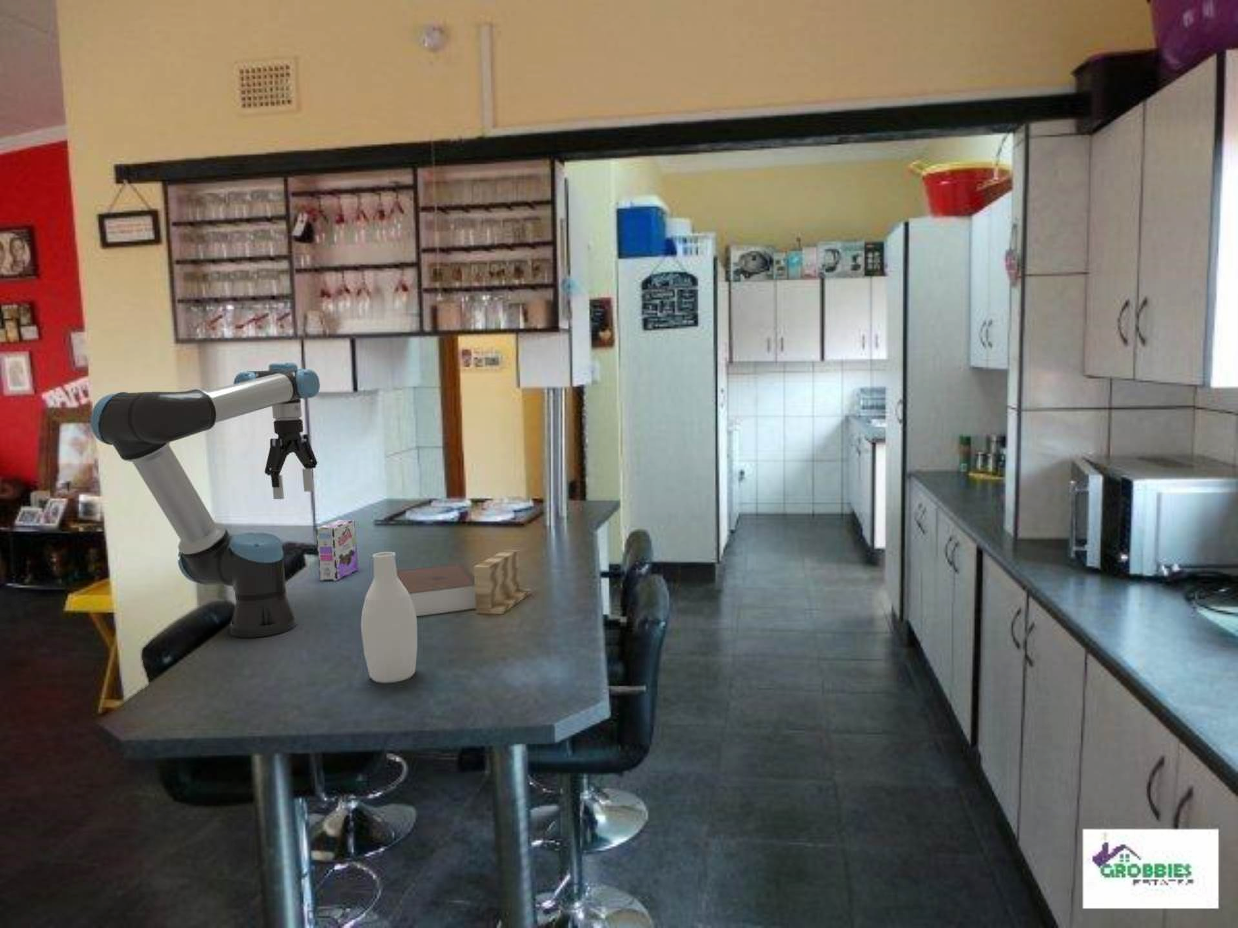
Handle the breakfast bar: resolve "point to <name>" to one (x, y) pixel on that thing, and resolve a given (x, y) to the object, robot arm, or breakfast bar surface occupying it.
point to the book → (439, 588)
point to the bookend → (498, 583)
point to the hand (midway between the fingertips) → (294, 495)
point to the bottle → (388, 624)
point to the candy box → (337, 550)
